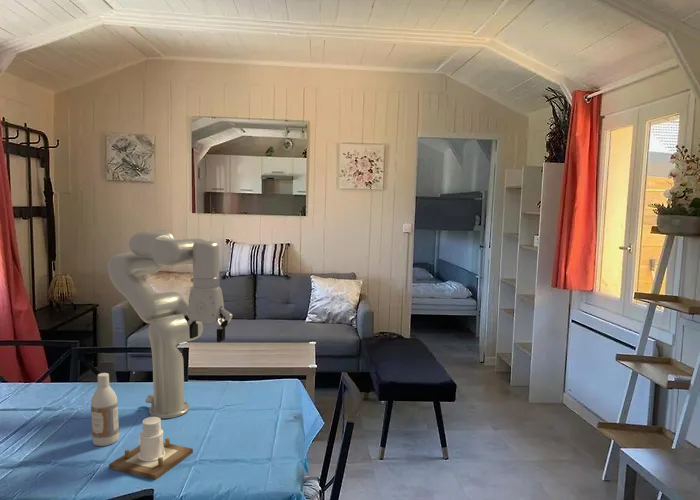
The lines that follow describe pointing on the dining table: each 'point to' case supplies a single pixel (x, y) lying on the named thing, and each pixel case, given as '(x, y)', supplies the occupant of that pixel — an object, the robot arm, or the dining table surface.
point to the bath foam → (104, 413)
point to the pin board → (151, 468)
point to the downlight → (151, 440)
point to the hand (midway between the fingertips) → (207, 339)
